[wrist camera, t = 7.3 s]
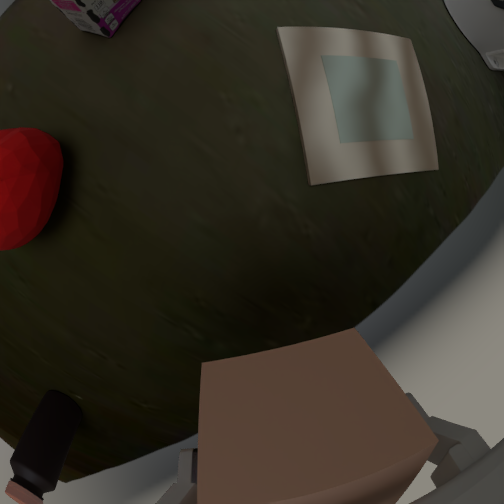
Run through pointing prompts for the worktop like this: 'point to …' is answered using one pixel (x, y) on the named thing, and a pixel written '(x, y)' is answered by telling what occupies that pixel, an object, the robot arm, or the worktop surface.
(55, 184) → the tomato
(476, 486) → the robot arm
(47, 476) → the bottle
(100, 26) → the candy bar box
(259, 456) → the cube
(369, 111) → the beige square mat
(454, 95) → the worktop surface
